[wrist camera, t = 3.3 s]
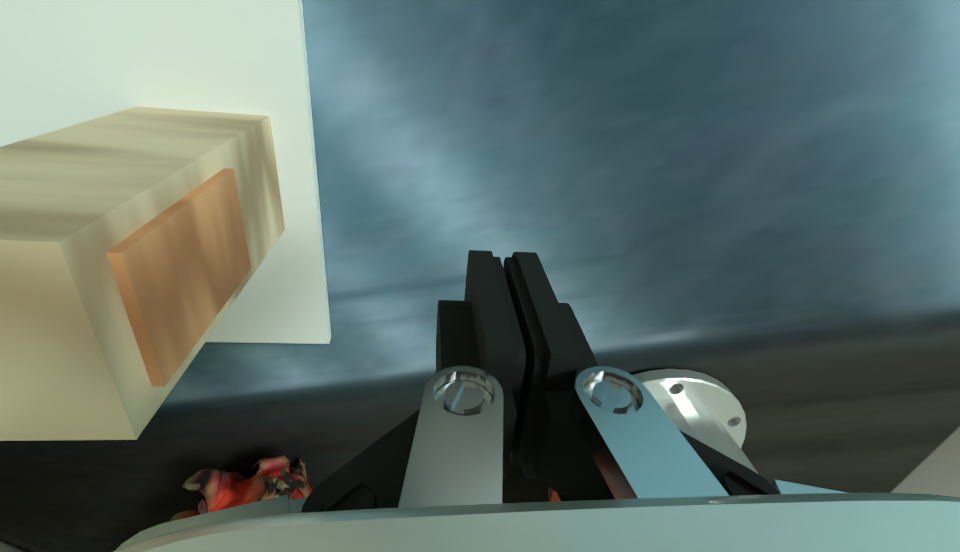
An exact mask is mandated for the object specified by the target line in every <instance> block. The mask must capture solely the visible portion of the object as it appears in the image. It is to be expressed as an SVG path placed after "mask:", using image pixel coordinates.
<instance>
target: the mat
mask: <svg viewBox="0 0 960 552" xmlns="http://www.w3.org/2000/svg"><path fill="white" fill-rule="evenodd" d="M136 106H139V107H153V108H167V109H181V110H195V111H210V112H224V113H238V114H252V115H266V116H270V119H271V127H272V134H273V142H274V150H275V157H276V165H277V173H278V180H279V188H280V196H281V203H282V211H283V219H284V227H285V230H284V232H283V233H282V234H281V236H280V237H279V239H278V240H277V242H276V243H275V244H274V246H273V247H272V249H271V250H270V251H269V253H268V254H267V256H266V257H265V258H264V260H263V261H262V263H261V264H260V266H259V267H258V268H257V270H256V271H255V273H254V274H253V275H252V277H251V278H250V280H249V281H248V283H247V284H246V285H245V287H244V288H243V290H242V291H241V292H240V294H239V295H238V297H237V298H236V300H235V301H234V302H233V304H232V305H231V307H230V308H229V309H228V311H227V312H226V314H225V315H224V317H223V318H222V319H221V321H220V322H219V324H218V325H217V326H216V328H215V329H214V331H213V332H212V333H211V335H210V336H209V338H208V339H207V341H206V342H244V343H307V344H329V343H330V340H331V327H330V316H329V305H328V293H327V282H326V270H325V259H324V247H323V236H322V225H321V213H320V202H319V190H318V179H317V167H316V156H315V145H314V133H313V122H312V110H311V99H310V87H309V76H308V65H307V53H306V42H305V30H304V19H303V7H302V0H0V147H2V146H5V145H8V144H12V143H15V142H18V141H22V140H25V139H28V138H32V137H35V136H38V135H42V134H45V133H49V132H52V131H55V130H59V129H62V128H65V127H69V126H72V125H75V124H79V123H82V122H85V121H89V120H92V119H96V118H99V117H102V116H106V115H109V114H112V113H116V112H119V111H122V110H126V109H129V108H132V107H136Z"/></svg>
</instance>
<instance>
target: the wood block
mask: <svg viewBox="0 0 960 552" xmlns="http://www.w3.org/2000/svg"><path fill="white" fill-rule="evenodd" d="M284 230H285V227H284V219H283V211H282V203H281V196H280V188H279V180H278V173H277V165H276V157H275V150H274V142H273V134H272V127H271V119H270V116H266V115H252V114H238V113H224V112H210V111H195V110H181V109H167V108H153V107H139V106H136V107H132V108H129V109H126V110H122V111H119V112H116V113H112V114H109V115H106V116H102V117H99V118H96V119H92V120H89V121H85V122H82V123H79V124H75V125H72V126H69V127H65V128H62V129H59V130H55V131H52V132H49V133H45V134H42V135H38V136H35V137H32V138H28V139H25V140H22V141H18V142H15V143H12V144H8V145H5V146H2V147H0V441H34V440H137V438H138V437H139V435H140V434H141V433H142V431H143V430H144V428H145V427H146V425H147V424H148V423H149V421H150V420H151V418H152V417H153V416H154V414H155V413H156V411H157V410H158V409H159V407H160V406H161V404H162V403H163V401H164V400H165V399H166V397H167V396H168V394H169V393H170V392H171V390H172V389H173V387H174V386H175V384H176V383H177V382H178V380H179V379H180V377H181V376H182V375H183V373H184V372H185V370H186V369H187V367H188V366H189V365H190V363H191V362H192V360H193V359H194V358H195V356H196V355H197V353H198V352H199V350H200V349H201V348H202V346H203V345H204V343H205V342H206V341H207V339H208V338H209V336H210V335H211V333H212V332H213V331H214V329H215V328H216V326H217V325H218V324H219V322H220V321H221V319H222V318H223V317H224V315H225V314H226V312H227V311H228V309H229V308H230V307H231V305H232V304H233V302H234V301H235V300H236V298H237V297H238V295H239V294H240V292H241V291H242V290H243V288H244V287H245V285H246V284H247V283H248V281H249V280H250V278H251V277H252V275H253V274H254V273H255V271H256V270H257V268H258V267H259V266H260V264H261V263H262V261H263V260H264V258H265V257H266V256H267V254H268V253H269V251H270V250H271V249H272V247H273V246H274V244H275V243H276V242H277V240H278V239H279V237H280V236H281V234H282V233H283V232H284Z"/></svg>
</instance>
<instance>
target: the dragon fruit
mask: <svg viewBox="0 0 960 552" xmlns="http://www.w3.org/2000/svg"><path fill="white" fill-rule="evenodd" d="M276 456H277V455H276ZM258 465H259V466H258ZM289 466H290V461H289V460H288V459H287V458H286V456H284V455H283V456H279V457H275V456H274V458H271V457H270V458H268V457H265V458H263V459H260V460H258V461H257V463H255V464H254V465H253V468H251V469H255V468H256V467H257V470H258V472H257V473H256V475H255V476H253V477H252V478H249V479H245V478H244V477H243V476H242V475H241V474H240V473H239V472H230V473H227V472H226V471H225V470H222V471H219V470H216V469H211V468H208V469H202V470H200V471H198V472H197V473H195V474H194V475H193V476H192V477H190V478H189V479H188V480H187V481H185V483H184V484H183V486H182V487H184V488H186V489H187V490H198V491H200V492H201V493H202V494H203V495H204V496H205V498H206V500H205V502H204V500H203V499H202V500H201V501H200V503H199V504H198V510H193V509H192V510H186V511H182V512H179V513H177V514H176V515H175V516H173V517H172V518H171V519H170V520H169V521H168V522H171V521H175V520H179V519H184V518H188V517H192V516H197V515H201V514H205V513H210V512H214V511H218V510H223V509H227V508H231V507H235V506H240V505H244V504H248V503H253V502H257V501H261V500H266V499H270V498H274V497H279V496H283V495H287V494H288V497H289V501H291V500H295V499H299V498H303V497H308V496H309V494H310V493H311V492H312V489H311V487H310V484H309V482H308V481H307V476H306V469H305V463H303V462H302V461H301V459H299V462H298V463H297V466H296V467H293V468H289ZM251 469H250V470H251ZM166 523H167V522H166Z"/></svg>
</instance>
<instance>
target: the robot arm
mask: <svg viewBox="0 0 960 552" xmlns="http://www.w3.org/2000/svg"><path fill="white" fill-rule="evenodd" d="M746 426H747V424H746V418H745V413H744V411H743V409H742V407H741V405H740V403H739V401H738V400H737V399H736V397H735V396H734V395H733V394H732V392H731V391H730V390H729V389H728V388H727V387H726V386H725V385H723V384H722V383H721V382H720V381H718V380H717V379H715V378H713V377H710V376H708V375H706V374H704V373H700V372H695V371H691V370H685V369H661V370H651V371H646V372H642V373H638V374H634V375H630V374H629V373H626V372H624V371H622V370H619V369H616V368H611V367H606V366H599V365H598V363H597V361H596V359H595V357H594V355H593V353H592V351H591V349H590V346H589V344H588V342H587V340H586V338H585V336H584V334H583V332H582V330H581V327H580V325H579V323H578V321H577V319H576V317H575V315H574V313H573V310H572V308H571V307H570V305H569V304H567V303H558V301H557V299H556V296H555V294H554V292H553V290H552V287H551V285H550V283H549V280H548V278H547V276H546V274H545V271H544V269H543V267H542V264H541V262H540V260H539V258H538V255H537V254H536V253H530V252H514V253H513V255H512V257H506V258H505V260H504V267H502V263H501V260H500V257H493V255H492V251H474V250H469V254H468V265H467V276H466V288H465V300H464V301H449V300H439V301H438V313H437V335H436V373H435V374H434V375H433V376H432V377H431V378H430V379H429V380H428V383H427V385H426V387H425V390H424V395H423V399H422V404H421V408H420V409H419V410H418V411H417V412H415V413H414V414H413V415H411V416H410V417H409V418H407V419H406V420H405V421H403V422H402V423H400V424H399V425H398V426H396V427H395V428H394V429H392V430H391V431H390V432H388V433H387V434H386V435H384V436H383V437H382V438H380V439H379V440H378V441H376V442H375V443H373V444H372V445H371V446H369V447H368V448H367V449H365V450H364V451H363V452H361V453H360V454H359V455H357V456H356V457H355V458H353V459H352V460H351V461H349V462H348V463H346V464H345V465H344V466H342V467H341V468H340V469H338V470H337V471H336V472H334V473H333V474H332V475H330V476H329V477H328V478H326V479H325V480H324V481H322V482H321V483H320V484H319V485H318V486H317V487H316V488H315V489H314V490H313V491H312V492H311V493H310V494H309V496H308V497H303V498H299V499H295V500H291V501H289V497H288V494H287V495H283V496H279V497H274V498H270V499H266V500H261V501H257V502H253V503H248V504H244V505H240V506H235V507H231V508H227V509H223V510H218V511H214V512H210V513H205V514H201V515H197V516H192V517H188V518H184V519H179V520H175V521H171V522H167V523H162V524H159V525H156V526H153V527H151V528H148V529H145V530H143V531H140V532H139V533H137V534H136V535H134V536H133V537H131V538H130V539H128V540H127V541H125V542H124V543H122V544H121V545H120V546H119V547H118V548H117V550H116V551H113V552H960V498H959V497H950V496H941V495H931V494H901V493H846V492H841V491H835V490H829V489H824V488H818V487H813V486H807V485H802V484H796V483H790V482H785V481H779V480H774V482H773V483H772V485H771V484H770V483H769V482H768V481H767V480H766V479H765V478H763V477H762V476H760V475H759V474H758V473H757V471H756V470H755V468H754V467H753V465H752V464H751V463H750V461H749V460H748V458H747V457H746V456H745V454H744V453H743V451H742V450H741V446H742V444H743V441H744V439H745V434H746ZM511 451H512V457H513V461H514V463H515V464H522V467H523V472H524V477H525V480H528V479H539V480H540V481H542V482H543V483H544V484H546V485H547V486H548V497H549V502H527V503H502V482H503V481H504V480H505V479H506V475H507V469H508V463H509V458H510V452H511Z"/></svg>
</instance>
